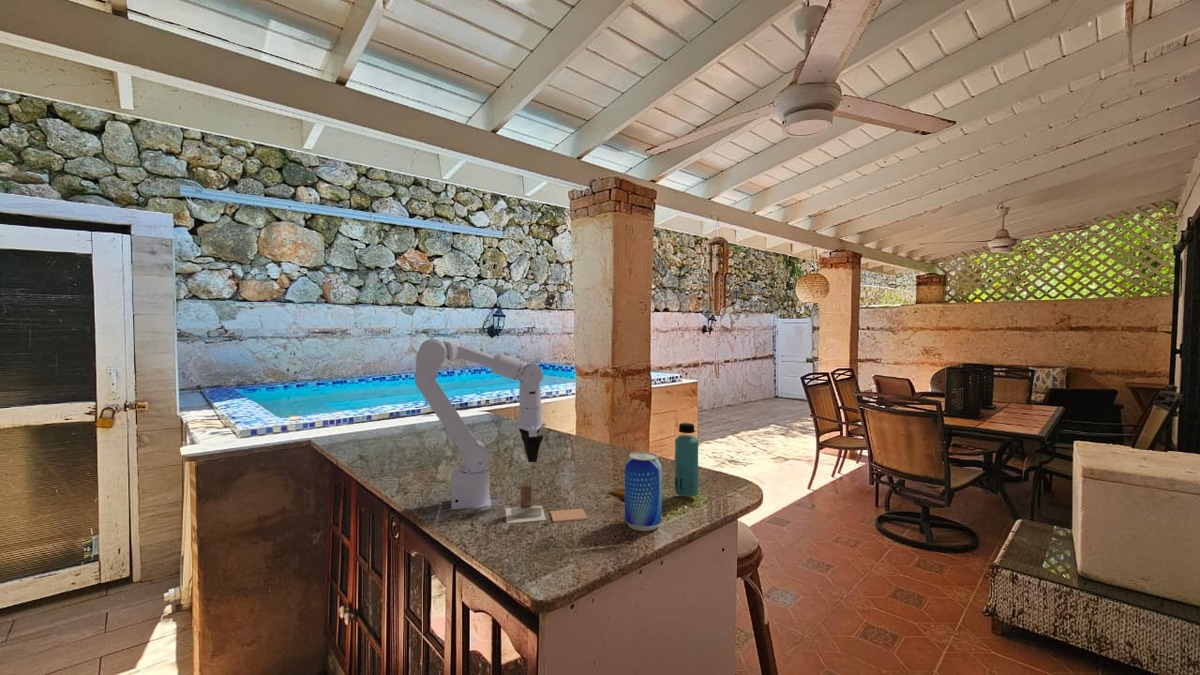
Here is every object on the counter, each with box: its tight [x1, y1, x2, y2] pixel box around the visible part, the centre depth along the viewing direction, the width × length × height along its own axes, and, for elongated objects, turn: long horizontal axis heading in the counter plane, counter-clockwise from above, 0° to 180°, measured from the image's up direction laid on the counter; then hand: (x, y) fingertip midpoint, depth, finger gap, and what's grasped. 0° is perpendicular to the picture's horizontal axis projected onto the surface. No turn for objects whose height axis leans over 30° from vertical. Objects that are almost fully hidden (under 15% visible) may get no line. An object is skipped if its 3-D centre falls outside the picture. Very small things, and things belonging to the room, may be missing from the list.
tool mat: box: [505, 505, 547, 524], centre depth 111 cm, size 9×9×1 cm
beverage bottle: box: [673, 422, 700, 497], centre depth 124 cm, size 6×7×20 cm
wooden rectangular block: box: [511, 482, 542, 518], centre depth 110 cm, size 7×3×7 cm, turn 103°
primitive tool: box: [608, 488, 625, 501], centre depth 121 cm, size 19×6×4 cm, turn 31°
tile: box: [549, 508, 588, 523], centre depth 110 cm, size 8×1×6 cm
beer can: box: [624, 451, 663, 532], centre depth 106 cm, size 8×8×16 cm
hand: (531, 457), depth 124 cm, fingers open, 7 cm apart
